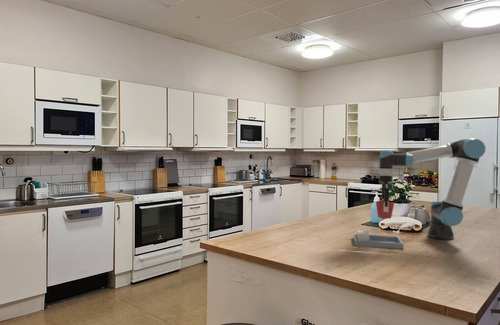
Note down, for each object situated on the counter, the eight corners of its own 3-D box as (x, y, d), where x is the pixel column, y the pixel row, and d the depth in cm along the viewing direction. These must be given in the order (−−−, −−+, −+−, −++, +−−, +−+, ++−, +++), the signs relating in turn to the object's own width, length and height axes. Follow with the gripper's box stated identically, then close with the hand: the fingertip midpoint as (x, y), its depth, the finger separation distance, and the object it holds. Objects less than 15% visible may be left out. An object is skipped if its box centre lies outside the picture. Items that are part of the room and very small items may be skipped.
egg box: (357, 239, 223) (357, 230, 223) (367, 240, 222) (367, 230, 221) (358, 243, 213) (358, 233, 213) (368, 244, 212) (369, 234, 212)
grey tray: (353, 239, 227) (353, 233, 227) (398, 242, 221) (398, 236, 221) (354, 246, 210) (354, 240, 210) (403, 250, 204) (403, 243, 204)
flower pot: (397, 218, 227) (398, 202, 226) (383, 219, 223) (383, 203, 222) (385, 215, 236) (386, 200, 236) (371, 216, 233) (372, 201, 232)
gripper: (377, 174, 241) (377, 207, 242) (381, 176, 218) (380, 213, 219) (389, 174, 239) (389, 208, 240) (394, 176, 217) (393, 213, 217)
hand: (384, 210), depth 229 cm, fingers closed on flower pot, 11 cm apart
